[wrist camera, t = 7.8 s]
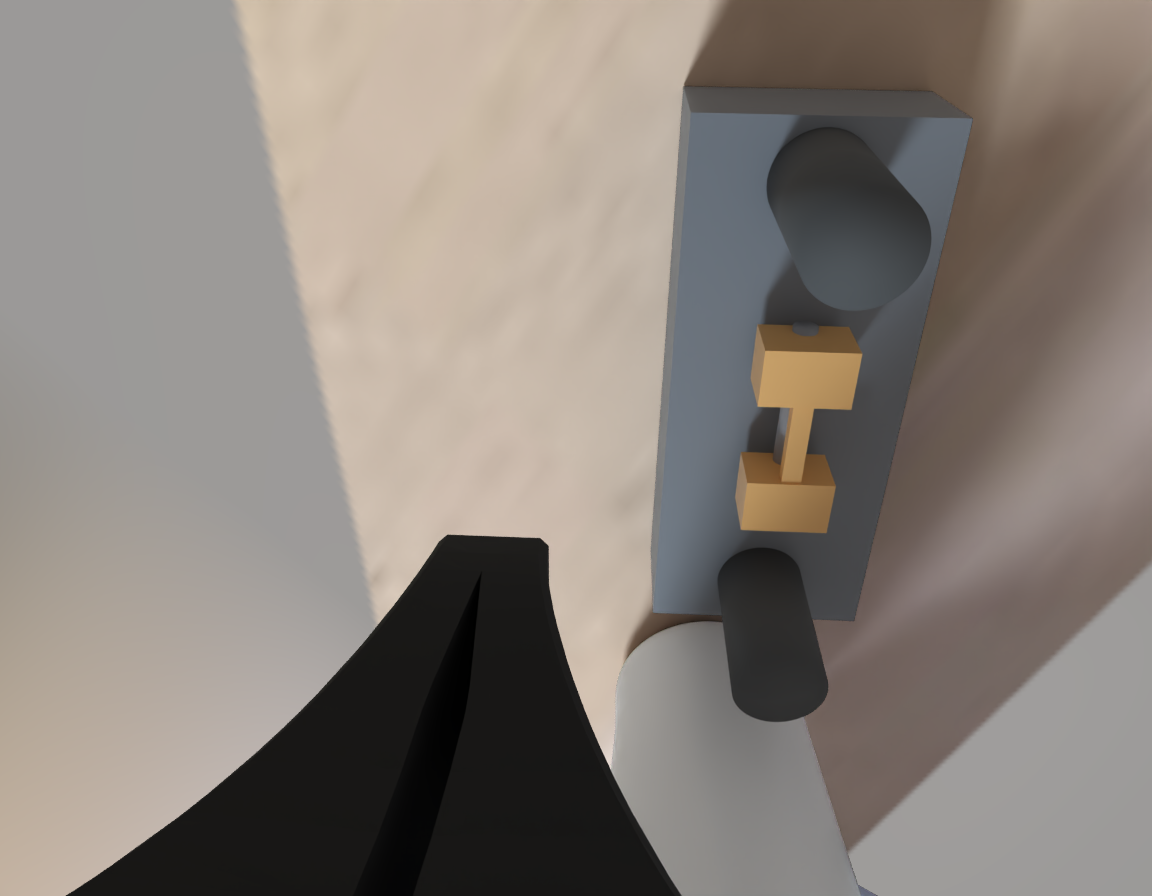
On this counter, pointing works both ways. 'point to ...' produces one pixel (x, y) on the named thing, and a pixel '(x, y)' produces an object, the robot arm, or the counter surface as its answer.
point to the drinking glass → (721, 777)
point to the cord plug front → (847, 220)
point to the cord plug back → (770, 637)
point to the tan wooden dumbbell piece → (795, 424)
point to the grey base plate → (779, 297)
